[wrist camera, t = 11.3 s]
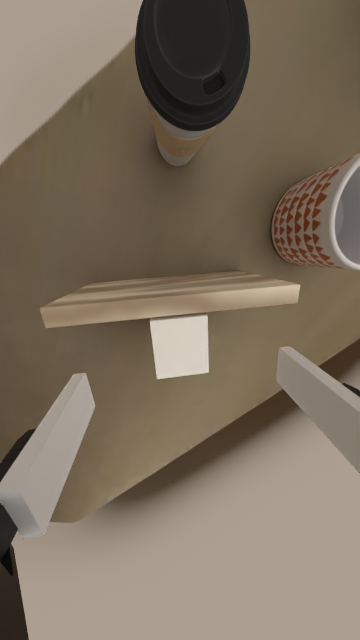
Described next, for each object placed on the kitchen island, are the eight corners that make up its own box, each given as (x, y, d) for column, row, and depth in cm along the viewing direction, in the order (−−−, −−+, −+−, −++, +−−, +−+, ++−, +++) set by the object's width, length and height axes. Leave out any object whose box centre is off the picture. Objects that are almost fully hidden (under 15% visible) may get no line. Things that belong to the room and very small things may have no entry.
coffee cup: (185, 194, 31) (210, 146, 17) (131, 150, 28) (108, 50, 14) (221, 133, 29) (284, 20, 15) (167, 80, 26) (180, -117, 12)
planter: (253, 234, 34) (306, 224, 22) (309, 157, 31) (405, 99, 19) (304, 279, 38) (373, 291, 26) (358, 214, 35) (463, 194, 23)
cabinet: (151, 300, 29) (149, 321, 20) (192, 297, 29) (207, 315, 21) (157, 351, 31) (158, 387, 23) (194, 346, 32) (208, 381, 23)
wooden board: (91, 282, 34) (39, 308, 19) (239, 270, 36) (300, 284, 21) (100, 326, 36) (62, 380, 21) (238, 312, 38) (291, 352, 23)
